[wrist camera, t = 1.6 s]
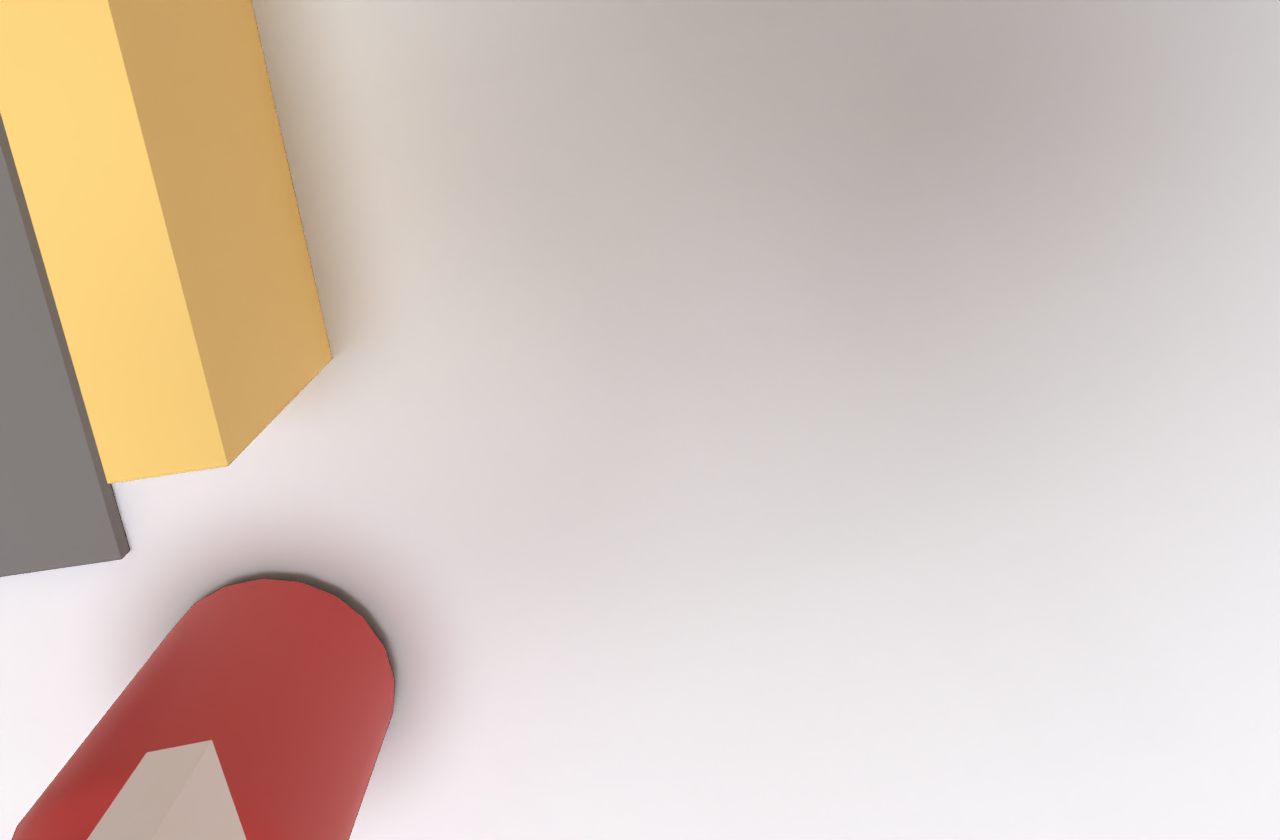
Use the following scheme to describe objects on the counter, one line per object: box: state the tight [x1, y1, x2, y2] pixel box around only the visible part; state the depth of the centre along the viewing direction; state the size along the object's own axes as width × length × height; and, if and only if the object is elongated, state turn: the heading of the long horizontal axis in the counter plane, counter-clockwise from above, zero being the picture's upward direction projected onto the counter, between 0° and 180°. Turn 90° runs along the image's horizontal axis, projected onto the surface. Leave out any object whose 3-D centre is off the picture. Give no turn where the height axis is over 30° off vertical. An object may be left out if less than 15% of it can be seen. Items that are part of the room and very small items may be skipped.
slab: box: [0, 0, 332, 484], centre depth 27 cm, size 11×2×9 cm, turn 8°
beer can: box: [12, 579, 395, 840], centre depth 29 cm, size 7×7×12 cm
